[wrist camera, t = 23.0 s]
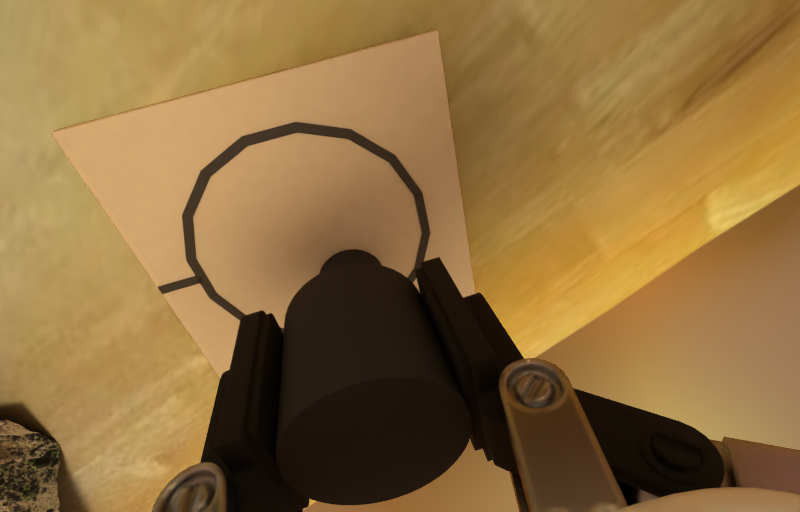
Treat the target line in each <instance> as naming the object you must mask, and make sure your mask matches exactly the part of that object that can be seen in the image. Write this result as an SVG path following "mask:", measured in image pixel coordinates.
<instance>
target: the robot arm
mask: <svg viewBox="0 0 800 512" xmlns="http://www.w3.org/2000/svg"><path fill="white" fill-rule="evenodd" d="M415 273H416V278H417V282H418V286H419V290H420V294H421V297H422V299H423V302H424V304H425V306H426V309H427V311H428V313H429V316H430V318H431V320H432V323H433V325H434V327H435V330H436V332H437V335H438V337H439V339H440V342H441V344H442V346H443V349H444V351H445V353H446V356H447V358H448V360H449V363H450V365H451V367H452V370H453V372H454V374H455V377H456V379H457V381H458V384H459V386H460V388H461V391H462V393H463V395H464V398H465V400H466V402H467V404H468V406H469V408H470V412H471V415H472V431H471V436H470V439H471V442H472V445H473V447H474V449H475V450H479V449H482V448H483V450H484V453H485V455H486V458H487V460H488V461H490V460H493V462H494V464H495V465H496V466H499V467H501V468H503V469H505V470H507V471H509V472H510V476H511V479H512V483H513V488H514V491H515V496H516V500H517V504H518V508H519V512H800V450H795V449H790V448H784V447H779V446H773V445H767V444H762V443H756V442H751V441H745V440H739V439H734V438H728V437H724V438H723V441H722V442H720V441H715V440H710V439H708V438H707V437H706V436H705V435H703V434H702V433H700V432H699V431H698V430H696V429H695V428H693V427H691V426H689V425H686V424H684V423H682V422H679V421H676V420H673V419H670V418H667V417H664V416H660V415H657V414H654V413H651V412H648V411H644V410H641V409H638V408H634V407H632V406H628V405H625V404H622V403H619V402H616V401H612V400H609V399H605V398H603V397H600V396H596V395H593V394H590V393H587V392H584V391H580V390H577V389H574V388H573V387H572V385H571V383H570V381H569V379H568V377H567V376H566V375H565V373H564V372H563V371H562V370H561V369H560V368H559V367H557V366H556V365H555V364H552V363H550V362H548V361H546V360H541V359H536V358H528V359H524V358H523V356H522V355H521V353H520V352H519V350H518V349H517V347H516V346H515V344H514V343H513V341H512V340H511V338H510V336H509V335H508V333H507V332H506V330H505V329H504V327H503V326H502V324H501V323H500V321H499V320H498V318H497V317H496V315H495V314H494V312H493V310H492V309H491V307H490V306H489V304H488V303H487V301H486V300H485V298H484V297H483V296H482V294H481V293H476V294H473V295H470V296H466V297H462V295H461V293H460V292H459V290H458V288H457V286H456V285H455V283H454V281H453V280H452V278H451V276H450V274H449V273H448V271H447V269H446V267H445V266H444V264H443V262H442V260H441V259H440V257H437V258H434V259H430V260H427V261H424V262H421V268H418V269H415ZM283 335H284V334H283V332H282V330H281V328H280V327H279V325H278V323H277V321H276V319H275V317H274V315H273V314H272V313H269V314H266V313H265V312H264V311H262V310H261V311H258V312H255V313H251V314H248V315H245V316H242V317H241V319H240V324H239V328H238V333H237V338H236V342H235V347H234V352H233V356H232V361H231V365H230V370H227V371H225V372H224V373H223V374H222V376H221V378H220V382H219V387H218V391H217V395H216V399H215V403H214V408H213V412H212V416H211V420H210V424H209V429H208V433H207V437H206V441H205V445H204V450H203V454H202V458H201V462H200V463H199V464H196V465H193V466H190V467H189V468H187V469H185V470H184V471H182V472H180V473H179V474H178V475H177V476H176V477H174V478H173V479H172V480H171V481H170V482H169V483H168V484H167V486H166V487H165V488H164V489H163V491H162V492H161V493H160V495H159V497H158V498H157V500H156V502H155V504H154V507H153V510H152V512H303V508H306V507H308V505H309V498H308V497H305V496H303V495H301V494H300V493H298V492H296V491H295V490H293V489H292V488H291V487H290V486H289V485H288V484H287V483H286V482H285V481H284V480H283V478H282V476H281V474H280V473H279V471H278V467H277V464H276V456H275V452H276V437H277V423H278V408H279V393H280V379H281V364H282V350H283Z"/></svg>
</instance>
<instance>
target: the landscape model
mask: <svg viewBox="0 0 800 512" xmlns="http://www.w3.org/2000/svg"><path fill="white" fill-rule="evenodd" d="M40 434H41V433H38V432H30V431H29V430H27V429H26V428H24V427H23V426H21V425H19V424H16V423H13V422H11V421H9V420H6V419H5V420H2V421H0V512H60V511H59V508H60V502H59V498H58V490H57V485H58V468H59V465H60V460H61V453H60V447H59V446H58V444H57V442H55V441H54V439H52V440H51V441H50V440H49V438H48V437H46V436H45V435H41V436H40Z"/></svg>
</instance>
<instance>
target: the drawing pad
mask: <svg viewBox="0 0 800 512" xmlns="http://www.w3.org/2000/svg"><path fill="white" fill-rule="evenodd" d="M51 134H52V135H53V137H54V138H55V140H56V141H57V143H58V144H59V146H60V147H61V149H62V150H63V151H64V153H65V154H66V156H67V157H68V159H69V160H70V162H71V163H72V164H73V166H74V167H75V169H76V170H77V172H78V173H79V175H80V176H81V177H82V179H83V180H84V182H85V183H86V185H87V186H88V188H89V189H90V191H91V192H92V193H93V195H94V196H95V198H96V199H97V201H98V202H99V204H100V205H101V206H102V208H103V209H104V211H105V212H106V214H107V215H108V217H109V218H110V220H111V221H112V222H113V224H114V225H115V227H116V228H117V230H118V231H119V233H120V234H121V235H122V237H123V238H124V240H125V241H126V243H127V244H128V246H129V247H130V249H131V250H132V251H133V253H134V254H135V256H136V257H137V259H138V260H139V262H140V263H141V264H142V266H143V267H144V269H145V270H146V272H147V273H148V275H149V276H150V277H151V279H152V280H153V282H154V283H155V285H156V286H157V288H158V289H159V291H160V292H161V293H162V295H163V296H164V298H165V299H166V301H167V302H168V304H169V305H170V306H171V308H172V309H173V311H174V312H175V314H176V315H177V317H178V318H179V320H180V321H181V322H182V324H183V325H184V327H185V328H186V330H187V331H188V333H189V334H190V335H191V337H192V338H193V340H194V341H195V343H196V344H197V346H198V347H199V348H200V350H201V351H202V353H203V354H204V356H205V357H206V359H207V360H208V362H209V363H210V364H211V366H212V367H213V369H214V370H215V372H216V373H217V375H218V376H219V377H220V378H221V376H222V374H223V373H224V372H225V371H227V370H230V365H231V361H232V356H233V352H234V347H235V342H236V338H237V333H238V328H239V324H240V319H241V317H242V316H245V315H248V314H251V313H255V312H258V311H261V310H262V311H264V312H265V313H266V314H269V313H272V314H273V315H274V317H275V319H276V321H277V323H278V325H279V327H280V328H281V330H282V332H283V334H284V322H285V315H286V312H287V308H288V306H289V304H290V302H291V300H292V299H293V297H294V296H295V294H296V293H297V292H298V291H299V290H300V288H301V287H302V286H303V285H305V284H306V283H307V282H308V281H309V280H311V279H312V278H314V277H315V276H317V275H318V274H319V273H320V270H321V268H322V266H323V265H324V263H325V262H326V261H327V260H328V259H329V258H330V257H331V256H333V255H334V254H336V253H338V252H341V251H344V250H351V249H357V250H363V251H366V252H369V253H370V254H372V255H374V256H375V257H376V258H377V259H378V260H379V261H380V263H381V264H382V266H385V267H388V268H391V269H394V270H395V271H397V272H399V273H401V274H403V275H404V276H405V277H407V278H408V279H409V280H410V281H411V282H412V283H413V284H414V285H415V286H416V288H417V289H418V290H419V286H418V282H417V278H416V273H415V269H418V268H421V262H424V261H427V260H430V259H434V258H437V257H440V259H441V260H442V262H443V264H444V266H445V267H446V269H447V271H448V273H449V274H450V276H451V278H452V280H453V281H454V283H455V285H456V286H457V288H458V290H459V292H460V293H461V295H462V297H466V296H470V295H473V294H475V287H474V280H473V273H472V266H471V259H470V252H469V245H468V238H467V231H466V224H465V217H464V210H463V203H462V196H461V189H460V182H459V175H458V168H457V161H456V154H455V147H454V140H453V133H452V126H451V119H450V112H449V105H448V98H447V91H446V84H445V77H444V70H443V63H442V56H441V49H440V42H439V35H438V31H437V30H433V31H429V32H425V33H421V34H417V35H414V36H410V37H406V38H402V39H399V40H395V41H391V42H387V43H383V44H380V45H376V46H372V47H368V48H364V49H361V50H357V51H353V52H349V53H345V54H342V55H338V56H334V57H330V58H327V59H323V60H319V61H315V62H311V63H308V64H304V65H300V66H296V67H292V68H289V69H285V70H281V71H277V72H273V73H270V74H266V75H262V76H258V77H255V78H251V79H247V80H243V81H239V82H236V83H232V84H228V85H224V86H220V87H217V88H213V89H209V90H205V91H201V92H198V93H194V94H190V95H186V96H183V97H179V98H175V99H171V100H167V101H164V102H160V103H156V104H152V105H148V106H145V107H141V108H137V109H133V110H130V111H126V112H122V113H118V114H114V115H111V116H107V117H103V118H99V119H95V120H92V121H88V122H84V123H80V124H76V125H73V126H69V127H65V128H61V129H58V130H55V131H53V132H51ZM419 292H420V290H419Z"/></svg>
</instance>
